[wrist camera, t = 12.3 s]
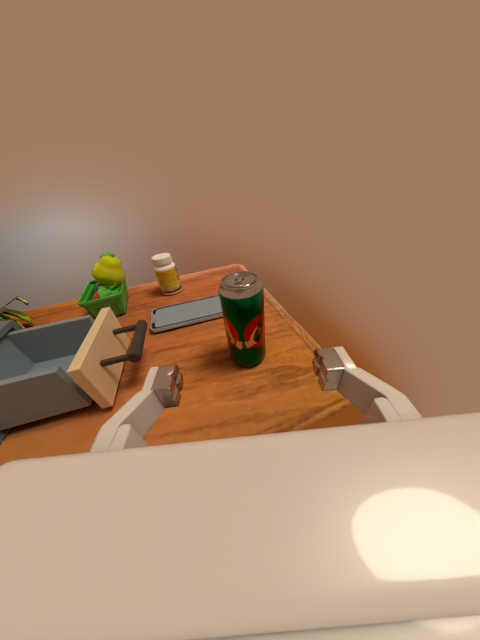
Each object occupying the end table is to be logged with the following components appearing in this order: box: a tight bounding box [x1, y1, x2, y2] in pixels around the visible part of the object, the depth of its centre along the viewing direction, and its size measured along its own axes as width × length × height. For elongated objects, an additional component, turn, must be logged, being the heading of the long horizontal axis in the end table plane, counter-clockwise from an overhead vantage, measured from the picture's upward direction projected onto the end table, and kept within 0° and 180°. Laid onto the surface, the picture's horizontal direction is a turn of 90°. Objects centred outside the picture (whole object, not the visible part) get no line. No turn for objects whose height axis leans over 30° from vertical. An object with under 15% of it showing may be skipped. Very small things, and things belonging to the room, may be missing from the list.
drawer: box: [0, 307, 147, 430], centre depth 26 cm, size 18×12×7 cm, turn 105°
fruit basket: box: [77, 252, 128, 317], centre depth 41 cm, size 11×9×11 cm
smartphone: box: [150, 294, 223, 332], centre depth 39 cm, size 7×1×15 cm
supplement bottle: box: [151, 253, 182, 295], centre depth 45 cm, size 5×5×8 cm
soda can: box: [218, 271, 266, 366], centre depth 25 cm, size 5×5×12 cm
